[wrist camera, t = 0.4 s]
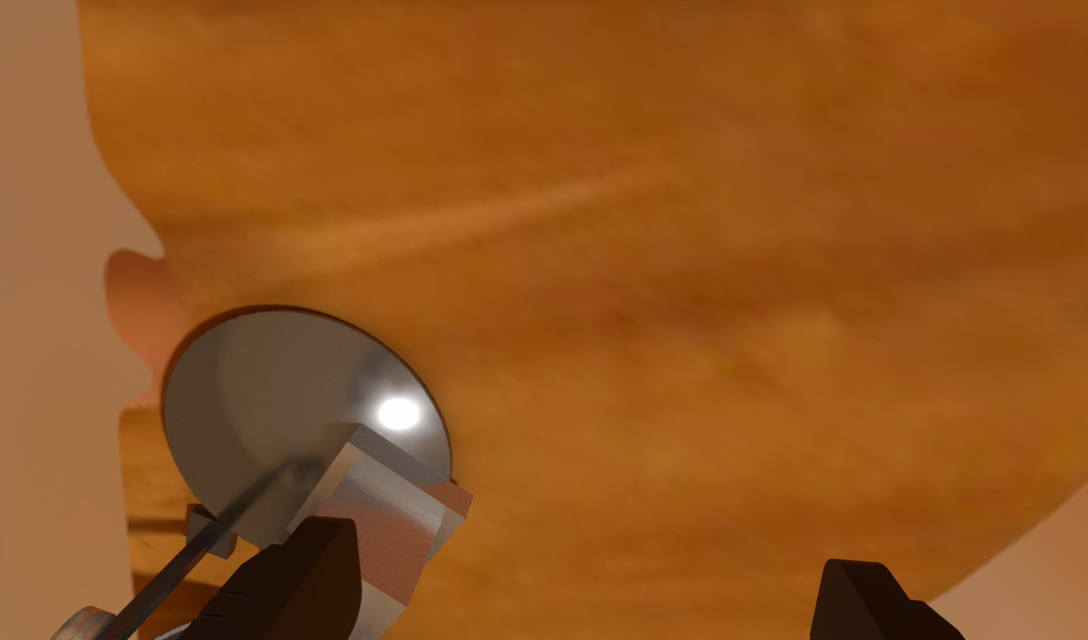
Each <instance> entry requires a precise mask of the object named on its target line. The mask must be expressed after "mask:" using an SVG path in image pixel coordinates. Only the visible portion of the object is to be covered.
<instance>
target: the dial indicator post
mask: <svg viewBox="0 0 1088 640" xmlns="http://www.w3.org/2000/svg"><path fill="white" fill-rule="evenodd" d="M237 536H238V535H237V534H236V533H234V532H233V531H231V530H230V529H229V528H227V527H226V526H225V525H224V524H223V523H221V522H220V521H219V520H218V519H217V518H216V517H215V516H214V515H213V514H212V513H211V512H210V511H208V510H207V509H206V508H205V507H204V506H203V505H200V504H199V505H198V506H197V507H196V508H195V509H194V510H193V511H192V512H191V515H190V521H189V527H188V532H187V538H186V546H185V547H184V548H183V549H182V550H181V551H180V552H179V553H178V554H177V555H176V556H175V557H174V558H173V559H172V560H171V561H170V562H169V563H168V564H167V565H166V567H165V568H164V569H163V570H162V571H161V572H160V573H159V574H158V575H157V576H156V577H155V578H154V579H153V580H152V581H151V582H150V583H149V584H148V585H147V586H146V587H145V588H144V589H143V590H142V591H141V592H140V593H139V594H138V595H137V596H136V597H135V598H134V599H133V600H132V601H131V602H130V603H129V604H128V605H127V607H125V608H124V609H123V610H122V611H121V612H120V613H119V614H118V615H117V616H116V615H115V614H112V613H110V612H107V611H104V610H102V609H99V608H96V607H93V606H88V607H85V608H83V609H81V610H80V611H79V612H77V613H76V614H74V615H73V616H72V617H71V618H70V619H68V620H67V621H66V622H65V623H64V624H63V625H62V626H61V627H60V628H59V630H58V631H57V632H56V633H55V634H54V635H53V637H52V638H51V639H50V640H127V639H128V638H129V637H130V636H131V635H132V634H133V633H134V632H135V631H136V630H137V629H138V627H139V626H140V625H141V624H142V623H143V622H144V621H145V620H146V619H147V618H148V617H149V616H150V614H151V613H152V612H153V611H154V610H155V609H156V608H157V607H158V606H159V605H160V604H161V602H162V601H163V600H164V599H165V598H166V597H167V596H168V595H169V594H170V593H171V592H172V591H173V589H174V588H175V587H176V586H177V585H178V584H179V583H180V582H181V581H182V580H183V579H184V577H185V576H186V575H187V574H188V573H189V572H190V571H191V570H192V569H193V568H194V567H195V565H196V564H197V563H198V562H199V561H200V560H201V559H202V558H203V557H204V556H205V555H206V554H207V552H208V553H210V554H213V555H216V556H218V557H221V558H224V559H228V558H229V557H230V555H231V554H232V553H233V552H234V550H235V545H236V541H237Z"/></svg>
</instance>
